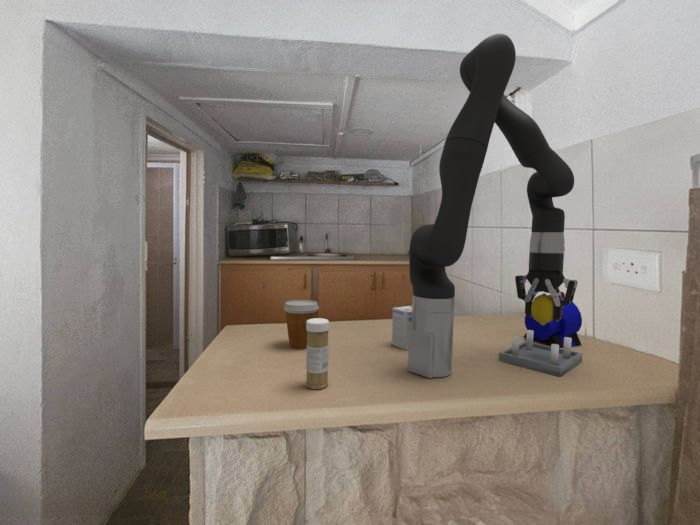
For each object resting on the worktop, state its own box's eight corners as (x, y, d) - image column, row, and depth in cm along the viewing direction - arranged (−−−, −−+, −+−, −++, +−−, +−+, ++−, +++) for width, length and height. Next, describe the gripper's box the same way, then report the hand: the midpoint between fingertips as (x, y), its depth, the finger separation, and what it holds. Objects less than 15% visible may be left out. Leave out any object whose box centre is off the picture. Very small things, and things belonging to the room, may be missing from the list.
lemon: (542, 328, 87) (543, 295, 87) (525, 323, 93) (526, 292, 92) (560, 327, 89) (562, 294, 88) (543, 322, 94) (544, 291, 94)
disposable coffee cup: (299, 339, 107) (300, 298, 106) (325, 345, 101) (326, 302, 100) (276, 346, 99) (276, 303, 98) (302, 353, 93) (302, 307, 93)
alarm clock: (583, 345, 106) (586, 294, 105) (552, 349, 101) (555, 296, 100) (546, 334, 117) (549, 288, 116) (517, 338, 113) (520, 289, 112)
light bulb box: (418, 339, 109) (419, 303, 108) (435, 345, 103) (436, 307, 102) (390, 344, 103) (391, 306, 102) (406, 351, 97) (407, 311, 97)
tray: (560, 376, 81) (561, 350, 80) (498, 360, 91) (499, 336, 91) (582, 361, 92) (583, 337, 91) (524, 348, 102) (525, 326, 102)
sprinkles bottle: (317, 379, 77) (318, 316, 76) (332, 385, 74) (333, 320, 73) (300, 385, 74) (301, 319, 73) (316, 392, 70) (316, 323, 69)
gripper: (510, 250, 92) (507, 316, 93) (574, 252, 82) (570, 326, 83) (522, 249, 97) (519, 312, 99) (584, 252, 87) (580, 321, 88)
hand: (542, 318), depth 91 cm, fingers closed on lemon, 5 cm apart
